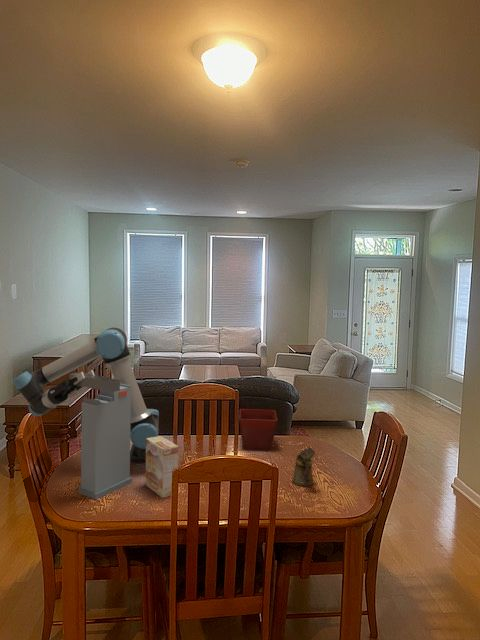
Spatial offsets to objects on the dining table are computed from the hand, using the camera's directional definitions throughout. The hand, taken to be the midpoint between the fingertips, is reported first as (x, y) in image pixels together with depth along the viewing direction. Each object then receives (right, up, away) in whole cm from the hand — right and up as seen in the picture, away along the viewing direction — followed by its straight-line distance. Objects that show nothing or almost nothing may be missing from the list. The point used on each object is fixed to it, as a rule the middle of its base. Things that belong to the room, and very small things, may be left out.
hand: (88, 374), depth 182 cm
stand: (+6, -46, +4) cm, 47 cm away
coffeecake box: (+28, -47, +4) cm, 55 cm away
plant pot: (+68, -45, +59) cm, 101 cm away
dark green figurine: (+86, -48, +13) cm, 100 cm away
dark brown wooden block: (+3, -5, -1) cm, 6 cm away
